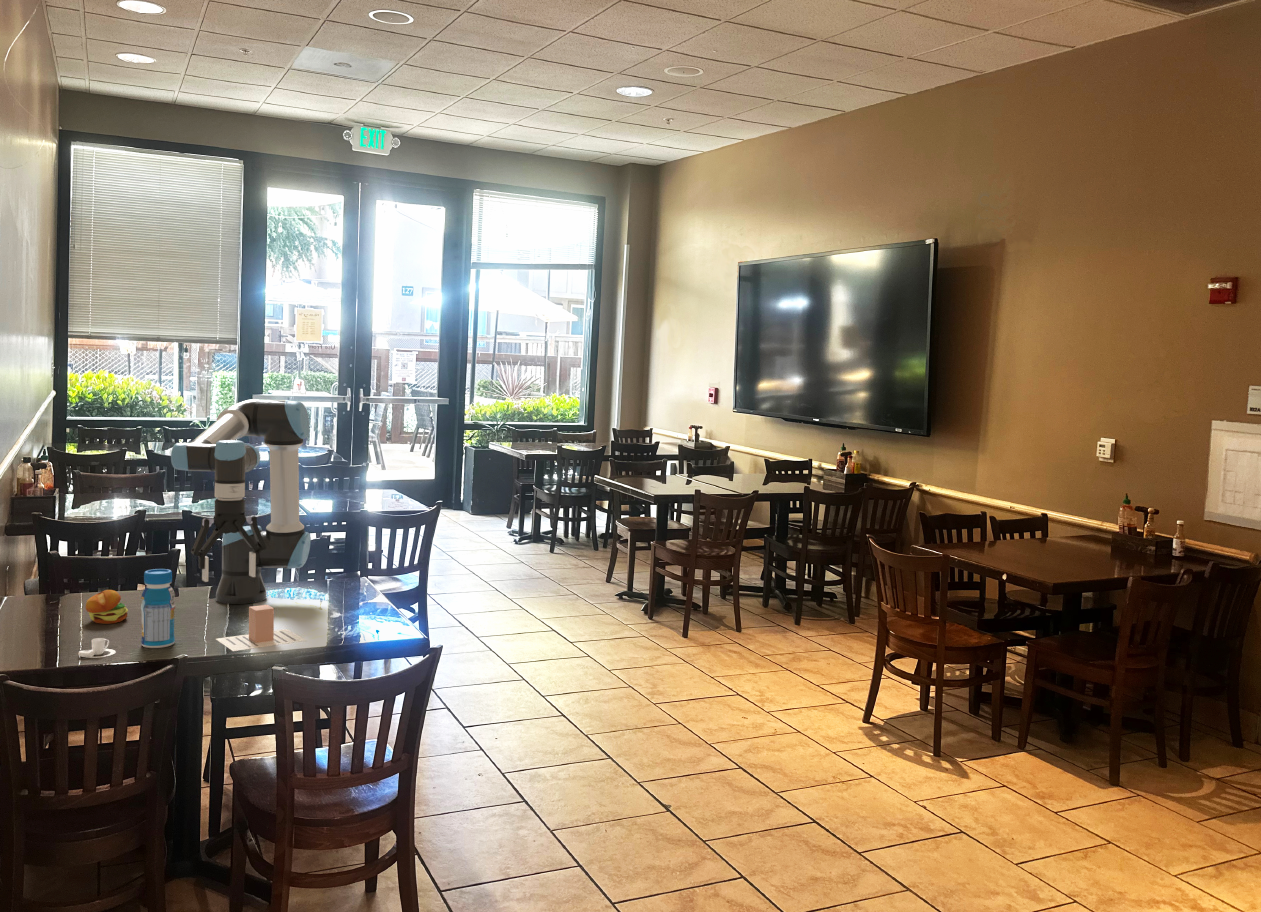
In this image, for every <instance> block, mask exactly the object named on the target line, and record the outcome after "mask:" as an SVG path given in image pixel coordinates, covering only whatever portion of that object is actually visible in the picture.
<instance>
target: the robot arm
mask: <svg viewBox="0 0 1261 912" xmlns="http://www.w3.org/2000/svg"><path fill="white" fill-rule="evenodd" d="M309 434H310V417H309V413H308V411H307V407H306V406H305V404H304V403H303V402H301V401H296V400H289V399H258V398H251V399H247V400H243V401H239V402H237V403H234V404H232V405H230V406H228V407H226V408H225V409H224V410H222V411H221V412H220V413H219V414H218V415H217V418H216V421H215V422H214V423H212V424H211V425H209V427H208V428H206V429H205V430H204V431H202V432H201V433H200V434H199V435H198V436H196V437H195V439H193V440H191V441H190V442H177V443H175V444H174V445H173V446H172V449H171V453H170V461H171V466H172V467H173V468H174V469H175V470H178V471H186V472H189V471H190V472H214V498H216V499H215V500H214V515H213V518H207V517H203V518H202V519H201V525H200V529H199V532H198V533H197V536H196V538H195V541H194V544H193V546H192V548H191V550H190V553H191V554H192V555H194V556H196V557H198V562H197V563H198V565H197V566H198V568H199V570H201V581H203V582H204V583H207V582H209V561H210V560H209V557H208V556H207V554H208V553H209V552H210V550H211V549H212V547H213V546H214V544H215V543H216V542H217V541H218V539H219V538H220V537H221V536H222V542H221V543H222V544H221V577H220V581H219V583H218V586H217V589H216V591H215V601H216V602H219V603H222V604H228V605H229V604H230V605H246V604H253V603H258V602H259V603H260V602H262V601H264V600H266V599H267V590H266V587H265V583H264V581H263V577H262V574H261V573H262V568H264V569H265V568H266V569H267V568H268V569H269V568H271V569H272V568H273V569H288V570H290V569H300V568H303V566H305V564H306V562H307V560H308V557H309V553H310V549H311V541H312V540H311V539H312V538H311V533H309V532H308V531H305V525H304V524H303V523H302V522H301V521H300V490H299V489H300V482H299V481H300V478H299V476H300V475H299V474H300V473H299V471H300V470H299V463H300V462H299V449H300V447H301V446H302V445H303V444H304V440H305V439H307V438H308V437H309ZM243 437H259V438H260V437H261V438H263V439H264V440H263V441H264V445H265V446H267V448H268V449H269V480H270V481H269V484H270V489H269V490H270V522H269V523H268V524H267V525H266V527H265V530H263V529H262V526H260V525H258V518H257V516H256V515H253V514H251V515H249V516H248V515H247V516H246V515H245V514H246V513H245V512H246V511H245V509H246V507H245V506H246V505H245V503H246V500H245V497H246V492H245V491H246V473H249V472H251V471H253V470H254V469H255V468H257V467H258V465H259V464H260V462H261V454H260V451H259V449H258V448H257V447H255V446H254V445H252V444H247V443H245V442H244V441H242V440H239V439H242V438H243ZM246 522H247V524H249V525H246V526H245V525H244V524H246ZM213 524H214V526H215V528H214V529H213V531H212V533H211V535H210V536H209V537H208V538H207V540H206V541H205V539H206V537H207V534H208V532H209V529H210V527H212V525H213ZM204 541H205V543H204Z"/></svg>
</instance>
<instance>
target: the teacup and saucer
mask: <svg viewBox="0 0 1261 912" xmlns="http://www.w3.org/2000/svg"><path fill="white" fill-rule="evenodd" d="M106 641H107V643H106ZM90 642H91V649H88V650H79V651H78V656H79V657H81V658H82V657H83V658H87V659H98V658H99V659H101V658H105V657H110V656H113V655H115V654H116V653H117V651H116V650H114V649H112V648H111V649H110V648H108V646H109V645H110V640H109V639H108V638H107V639H106V638H105V637H97V638H92V639H91V641H90ZM104 652H108V654H106V655H103V654H104ZM94 655H96V656H94ZM99 655H102V656H99Z"/></svg>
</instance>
